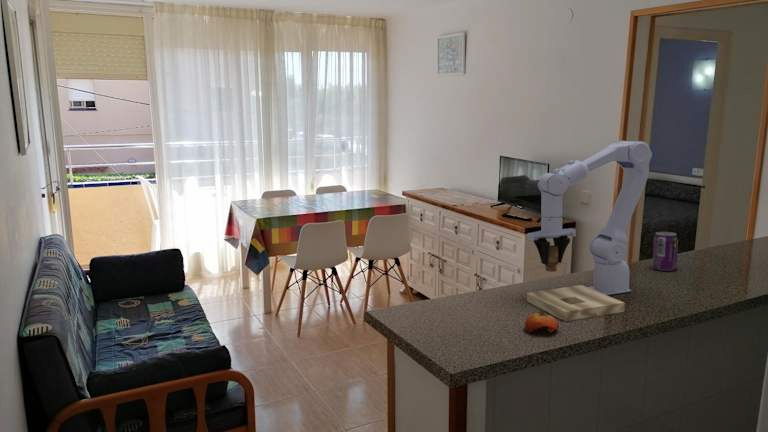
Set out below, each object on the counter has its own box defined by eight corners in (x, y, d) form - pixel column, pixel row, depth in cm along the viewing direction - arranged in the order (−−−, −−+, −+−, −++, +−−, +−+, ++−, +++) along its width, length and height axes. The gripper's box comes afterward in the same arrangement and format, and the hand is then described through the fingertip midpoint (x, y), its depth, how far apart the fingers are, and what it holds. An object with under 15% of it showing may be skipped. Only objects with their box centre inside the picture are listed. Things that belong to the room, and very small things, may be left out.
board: (581, 293, 167) (581, 285, 167) (624, 311, 150) (624, 302, 150) (526, 301, 162) (526, 292, 161) (565, 321, 145) (565, 311, 144)
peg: (553, 268, 166) (553, 244, 165) (560, 271, 163) (561, 247, 162) (541, 269, 165) (541, 245, 164) (548, 272, 162) (549, 248, 161)
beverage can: (680, 271, 186) (682, 235, 184) (658, 272, 186) (660, 236, 184) (670, 266, 193) (671, 231, 191) (648, 266, 193) (650, 231, 191)
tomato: (569, 326, 137) (551, 307, 135) (554, 349, 135) (535, 330, 133) (547, 321, 145) (529, 303, 142) (532, 343, 142) (514, 325, 140)
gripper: (565, 212, 167) (565, 257, 169) (521, 216, 163) (521, 262, 165) (580, 215, 161) (579, 262, 163) (534, 219, 157) (534, 268, 159)
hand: (551, 263), depth 164 cm, fingers closed on peg, 4 cm apart
